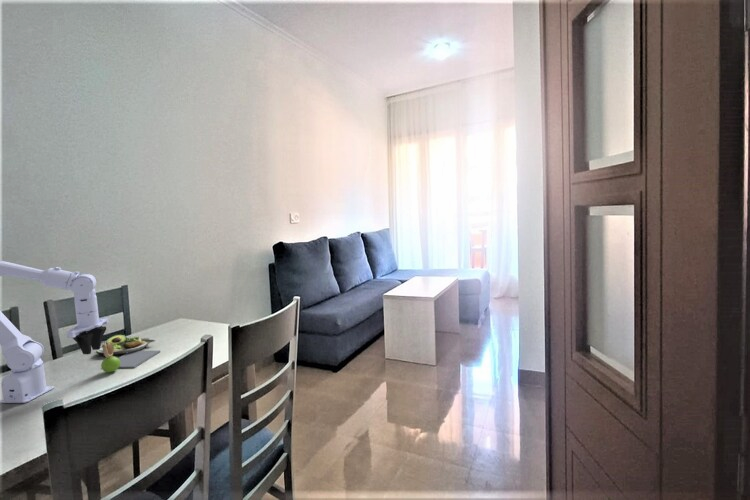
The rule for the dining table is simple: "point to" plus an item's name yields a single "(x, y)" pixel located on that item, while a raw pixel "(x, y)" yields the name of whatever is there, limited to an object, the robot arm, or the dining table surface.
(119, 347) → the salad plate
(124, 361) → the slate mat
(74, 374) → the dining table surface
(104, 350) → the snail figurine
